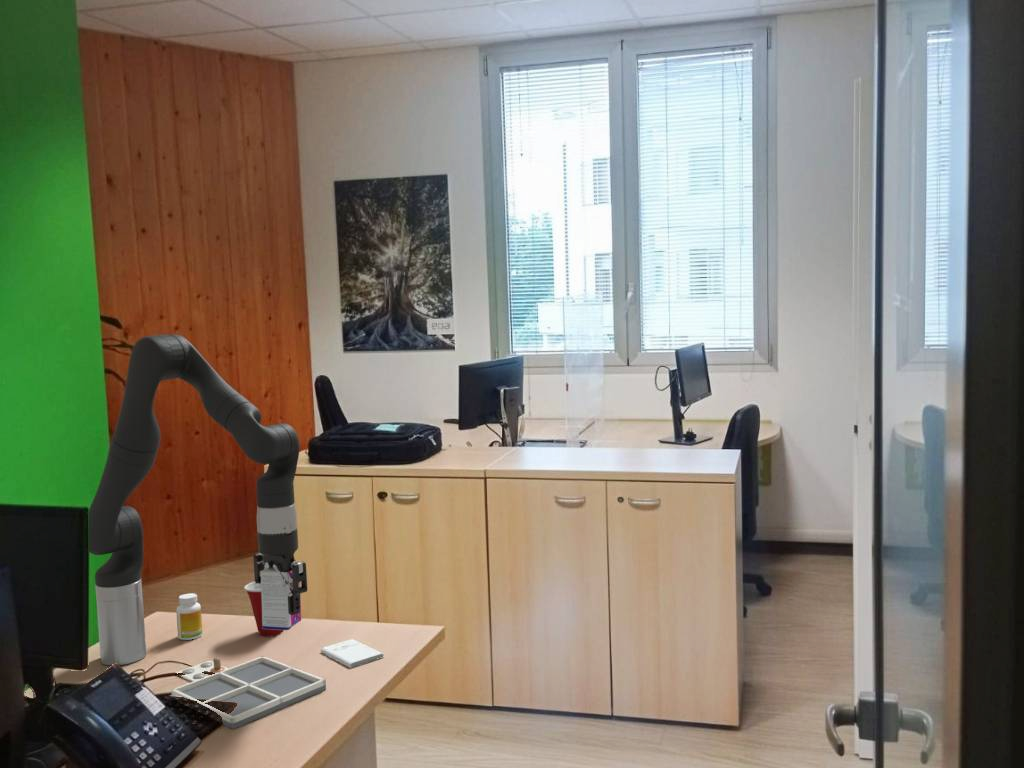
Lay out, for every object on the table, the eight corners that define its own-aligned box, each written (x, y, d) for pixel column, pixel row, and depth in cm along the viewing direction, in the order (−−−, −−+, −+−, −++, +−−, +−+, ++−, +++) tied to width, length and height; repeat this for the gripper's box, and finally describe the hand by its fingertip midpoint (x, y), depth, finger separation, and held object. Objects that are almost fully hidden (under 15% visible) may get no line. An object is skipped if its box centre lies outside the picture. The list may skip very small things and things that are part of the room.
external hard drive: (350, 670, 189) (321, 654, 199) (383, 660, 195) (353, 644, 204) (350, 663, 189) (320, 647, 199) (383, 652, 195) (353, 637, 204)
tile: (175, 674, 189) (174, 661, 189) (209, 662, 195) (209, 649, 195) (196, 683, 184) (195, 670, 184) (230, 670, 190) (229, 658, 190)
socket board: (171, 699, 177) (171, 689, 176) (263, 665, 192) (263, 655, 192) (232, 729, 163) (232, 718, 163) (326, 689, 179) (325, 679, 179)
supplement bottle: (207, 635, 212) (204, 594, 211) (186, 642, 207) (183, 601, 207) (194, 630, 215) (191, 590, 214) (173, 637, 211) (170, 597, 210)
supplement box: (290, 630, 174) (286, 572, 173) (261, 629, 175) (258, 571, 174) (303, 620, 179) (300, 563, 179) (275, 619, 181) (272, 562, 180)
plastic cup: (270, 620, 220) (268, 572, 219) (304, 627, 215) (301, 578, 214) (236, 635, 211) (233, 585, 210) (270, 643, 205) (267, 591, 204)
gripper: (239, 526, 177) (244, 608, 179) (283, 536, 168) (288, 622, 170) (271, 519, 183) (276, 598, 184) (316, 528, 174) (320, 611, 175)
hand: (281, 609), depth 177 cm, fingers closed on supplement box, 7 cm apart
